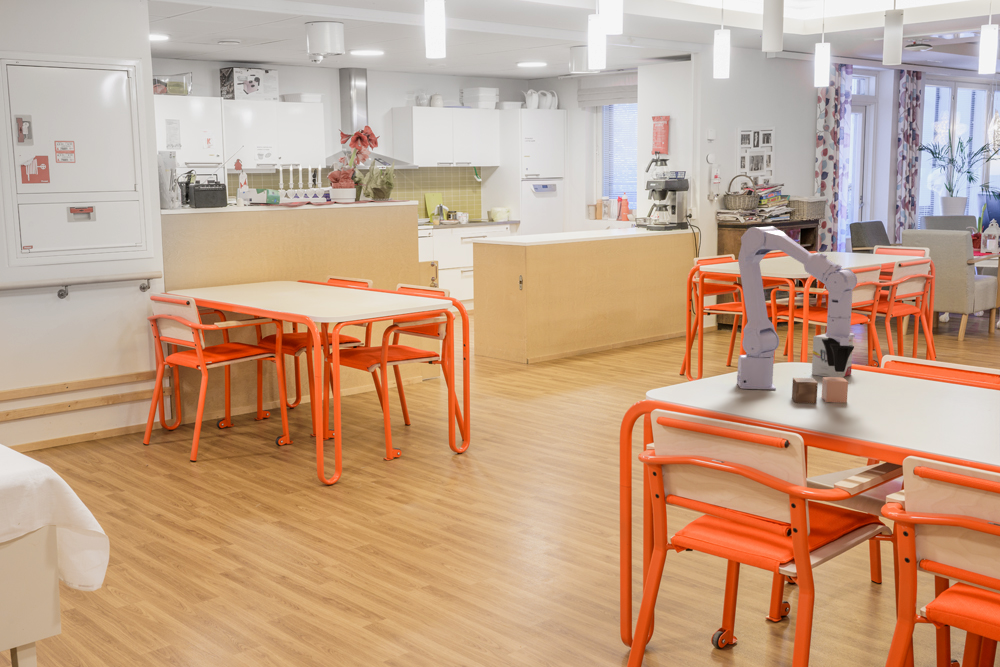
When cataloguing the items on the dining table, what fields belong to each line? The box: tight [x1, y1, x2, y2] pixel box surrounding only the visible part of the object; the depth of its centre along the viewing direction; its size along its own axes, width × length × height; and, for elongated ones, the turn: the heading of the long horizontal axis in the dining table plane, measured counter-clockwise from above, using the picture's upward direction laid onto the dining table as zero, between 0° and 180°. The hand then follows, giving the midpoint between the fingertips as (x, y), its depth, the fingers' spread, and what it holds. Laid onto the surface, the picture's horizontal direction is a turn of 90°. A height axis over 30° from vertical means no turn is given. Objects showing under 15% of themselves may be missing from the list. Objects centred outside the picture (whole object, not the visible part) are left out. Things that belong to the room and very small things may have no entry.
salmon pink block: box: [821, 376, 849, 403], centre depth 244 cm, size 5×5×6 cm
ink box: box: [811, 333, 854, 378], centre depth 276 cm, size 9×9×12 cm
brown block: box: [791, 377, 819, 404], centre depth 243 cm, size 5×5×6 cm
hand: (836, 368), depth 243 cm, fingers open, 7 cm apart
